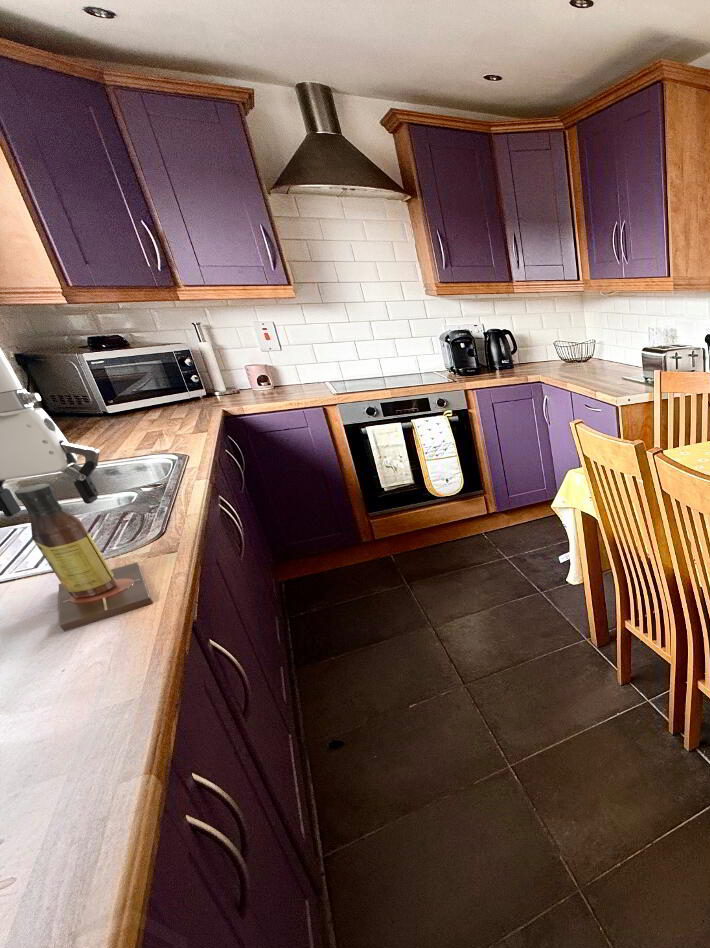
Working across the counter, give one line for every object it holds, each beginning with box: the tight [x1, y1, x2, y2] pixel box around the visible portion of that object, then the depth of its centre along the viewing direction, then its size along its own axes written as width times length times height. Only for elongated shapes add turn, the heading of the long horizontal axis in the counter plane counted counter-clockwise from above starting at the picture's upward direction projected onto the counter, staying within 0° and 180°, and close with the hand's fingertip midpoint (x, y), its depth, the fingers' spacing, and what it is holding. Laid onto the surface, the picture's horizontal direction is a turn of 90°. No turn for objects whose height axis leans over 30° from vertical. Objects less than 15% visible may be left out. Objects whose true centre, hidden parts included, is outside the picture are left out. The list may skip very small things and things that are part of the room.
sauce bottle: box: [14, 483, 117, 598], centre depth 99 cm, size 6×6×20 cm
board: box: [58, 562, 153, 632], centre depth 104 cm, size 22×11×1 cm, turn 47°
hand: (53, 507), depth 97 cm, fingers open, 9 cm apart
